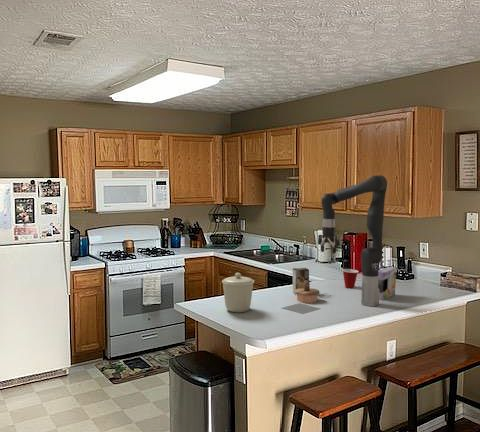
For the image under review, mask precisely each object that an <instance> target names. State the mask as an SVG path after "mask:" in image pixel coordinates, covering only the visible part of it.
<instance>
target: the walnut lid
mask: <svg viewBox="0 0 480 432" xmlns="http://www.w3.org/2000/svg"><path fill="white" fill-rule="evenodd" d="M310 282H311V281H310V280H309V281H308V280H305V281H304V288H298V289H295V290H294V293H296V294H299V295H308V296H310V295H320V290H319V289H316V288H311V287H310V286H311V285H310V284H311V283H310ZM294 293H293V294H294Z"/></svg>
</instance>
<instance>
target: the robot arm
mask: <svg viewBox="0 0 480 432" xmlns="http://www.w3.org/2000/svg"><path fill="white" fill-rule="evenodd" d="M386 178H387V177H385V176H383V175H382V174H378V175H377V174H376V175H371V176H370V177H369V178H367V179H365V180H363V181H361V182H359V183H357V184H353V185H350V186H346V187H344V188H340V189H338V190H337V191H335V192H331V193H324V194H323V195H322V196H321V201H320V202H321V203H320V204H321V208H322V213H323V214H322V228H321V229H322V234H319V235H317V236H318V239H317V245H319V246H320V252H321V253H324V252H325V244H330V245H331V246H332V247H331V248H332V249H331V250H332V252H331V253H332V254H336V253H337V247H340V237H339V236H335V233H336V220H335V219H336V218H335V217H336V212H335V209H333V205H337V204H339V203H340V202H343V201H347V200H351V199H353V198H355V197H357V196H359V195H362V194H367V193H372V198H371V202H370V205H369V207H368V211H367V214H366V228H367V230H368V232H369V234H370V236H371V238H372V239H371V240H372V246H371V247H365V248H363V249H362V250H361V253H360V267H361V274H362V275H361V305H363V306H367V307H375V306H379V305H380V300H379V292H380V289H379V288H378V275H379V272H378V271H379V270H377V269H375V268H373V265H375V264H379V263H381V261H382V259H383V227H384V217H385V214H384V212H385V198H386V194H387V189H388V180H387V179H386Z"/></svg>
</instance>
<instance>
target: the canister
mask: <svg viewBox="0 0 480 432" xmlns="http://www.w3.org/2000/svg"><path fill="white" fill-rule="evenodd" d="M221 283H222V288H223V295H224V304H225V308H226V310H227V311H228V312H231V313H244V312H248V311H249V309H250V308H251V306H252V305H251V304H252V296H253V288H254V286H253V285H254V284H255V280H254V279H252V278H251V277H247V276H243V275H242V273H240V272H235V274H234V275H233V276H229V277H226V278H224V279H222V280H221Z"/></svg>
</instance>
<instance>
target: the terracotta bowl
mask: <svg viewBox="0 0 480 432" xmlns="http://www.w3.org/2000/svg"><path fill="white" fill-rule="evenodd" d="M317 295H318V294H317ZM317 295H310V296H308V295H299V294H297V295H296V300H297V302H299V303H300V302H301V303H305V304H306V303H315V302H317V297H318V296H317Z"/></svg>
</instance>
